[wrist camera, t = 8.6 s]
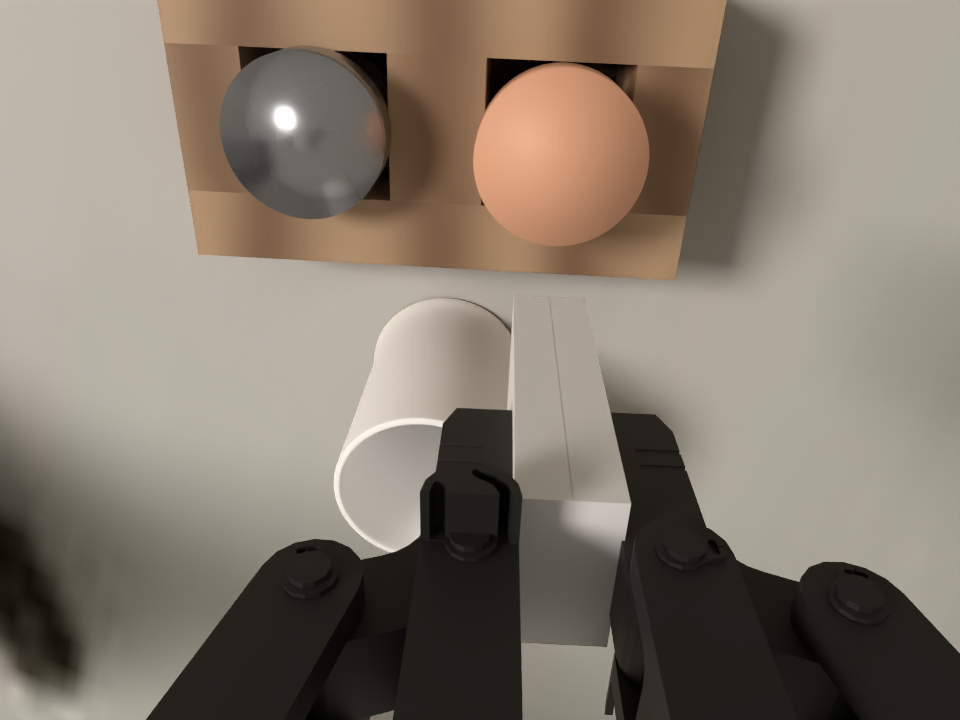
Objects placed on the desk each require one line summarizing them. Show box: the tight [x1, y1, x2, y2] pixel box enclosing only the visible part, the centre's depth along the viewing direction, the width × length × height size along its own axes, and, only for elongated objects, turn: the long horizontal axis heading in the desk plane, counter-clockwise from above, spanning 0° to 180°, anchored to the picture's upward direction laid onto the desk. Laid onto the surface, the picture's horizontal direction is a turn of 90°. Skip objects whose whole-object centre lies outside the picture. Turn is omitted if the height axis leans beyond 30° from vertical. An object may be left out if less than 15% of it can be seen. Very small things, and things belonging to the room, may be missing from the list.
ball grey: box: [220, 45, 391, 219], centre depth 31 cm, size 6×6×8 cm
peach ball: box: [473, 62, 649, 246], centre depth 29 cm, size 6×6×8 cm
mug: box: [334, 298, 511, 553], centre depth 37 cm, size 12×8×12 cm
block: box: [157, 0, 727, 280], centre depth 32 cm, size 22×12×6 cm, turn 88°
